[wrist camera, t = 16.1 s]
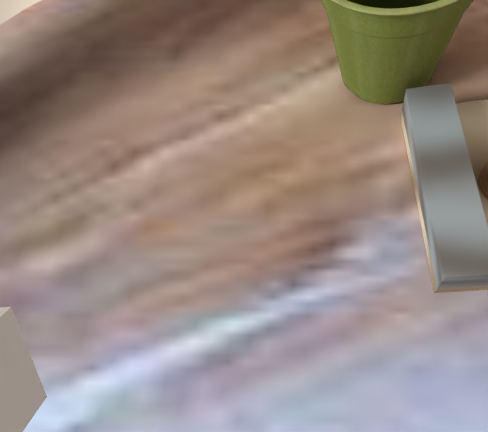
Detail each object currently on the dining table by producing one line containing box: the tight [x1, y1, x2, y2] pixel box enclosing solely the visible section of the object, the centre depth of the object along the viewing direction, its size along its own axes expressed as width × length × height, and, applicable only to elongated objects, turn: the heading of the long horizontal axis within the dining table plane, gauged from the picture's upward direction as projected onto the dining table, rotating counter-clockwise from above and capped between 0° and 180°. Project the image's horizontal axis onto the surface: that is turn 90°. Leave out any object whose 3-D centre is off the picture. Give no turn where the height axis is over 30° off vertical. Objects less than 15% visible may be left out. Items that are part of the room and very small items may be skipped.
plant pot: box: [321, 0, 473, 104], centre depth 32 cm, size 12×12×11 cm
